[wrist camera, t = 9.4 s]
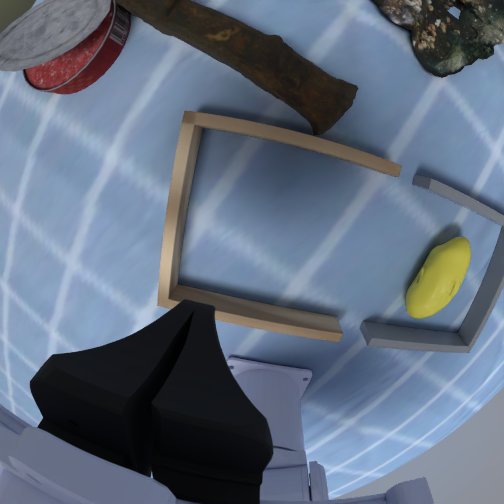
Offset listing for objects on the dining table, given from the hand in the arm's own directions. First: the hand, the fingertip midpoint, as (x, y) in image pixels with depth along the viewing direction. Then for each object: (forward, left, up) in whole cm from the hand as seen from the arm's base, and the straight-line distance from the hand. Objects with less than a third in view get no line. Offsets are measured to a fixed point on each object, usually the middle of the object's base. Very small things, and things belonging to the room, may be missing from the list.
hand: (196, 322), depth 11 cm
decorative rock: (+27, -13, -10) cm, 32 cm away
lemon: (+2, -17, -10) cm, 20 cm away
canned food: (+15, +16, -10) cm, 24 cm away
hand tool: (+14, +3, -10) cm, 18 cm away
